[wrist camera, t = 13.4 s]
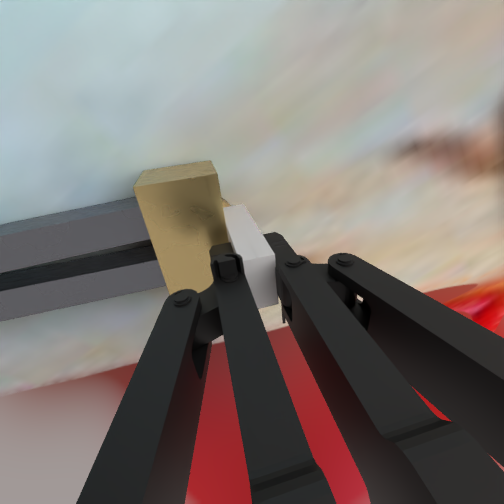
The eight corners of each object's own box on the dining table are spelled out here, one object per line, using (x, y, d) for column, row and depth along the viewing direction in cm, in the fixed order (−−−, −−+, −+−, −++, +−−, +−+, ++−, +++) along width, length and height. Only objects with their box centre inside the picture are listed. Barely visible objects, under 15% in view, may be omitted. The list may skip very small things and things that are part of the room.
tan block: (210, 160, 16) (217, 173, 13) (230, 269, 20) (238, 300, 17) (143, 170, 15) (132, 187, 12) (177, 280, 19) (176, 315, 16)
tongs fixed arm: (231, 189, 17) (238, 200, 15) (240, 253, 20) (247, 270, 18) (-183, 259, 14) (-248, 287, 12) (-109, 325, 17) (-152, 357, 14)
